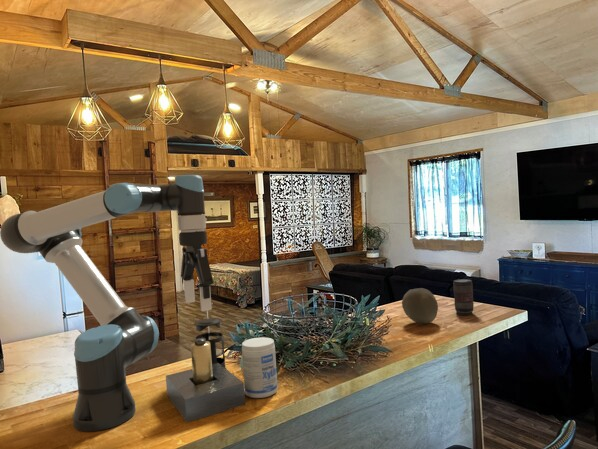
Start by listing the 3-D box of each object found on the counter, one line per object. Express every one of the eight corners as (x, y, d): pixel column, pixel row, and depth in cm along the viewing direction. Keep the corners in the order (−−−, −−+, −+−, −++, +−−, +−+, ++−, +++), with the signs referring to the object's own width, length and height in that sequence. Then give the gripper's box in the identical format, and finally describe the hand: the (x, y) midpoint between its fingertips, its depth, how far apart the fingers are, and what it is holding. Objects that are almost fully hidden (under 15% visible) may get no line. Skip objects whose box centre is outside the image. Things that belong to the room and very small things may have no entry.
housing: (186, 422, 109) (185, 399, 109) (167, 395, 127) (165, 375, 126) (245, 404, 117) (243, 382, 117) (219, 381, 135) (217, 362, 134)
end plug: (198, 406, 118) (193, 344, 118) (192, 399, 123) (187, 339, 122) (217, 400, 121) (212, 340, 120) (210, 394, 126) (206, 335, 125)
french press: (230, 373, 140) (224, 303, 140) (201, 380, 136) (195, 308, 136) (220, 363, 151) (215, 297, 150) (193, 369, 147) (188, 302, 146)
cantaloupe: (425, 317, 191) (423, 284, 190) (445, 325, 178) (443, 289, 177) (397, 322, 187) (395, 287, 186) (416, 330, 173) (414, 293, 173)
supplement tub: (270, 400, 119) (266, 348, 118) (239, 398, 122) (235, 346, 121) (282, 386, 128) (279, 337, 127) (253, 384, 131) (249, 336, 130)
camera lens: (475, 312, 194) (474, 279, 194) (472, 316, 188) (470, 282, 187) (457, 310, 199) (455, 278, 198) (452, 315, 192) (451, 281, 191)
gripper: (222, 230, 112) (227, 311, 113) (191, 229, 133) (196, 297, 134) (194, 232, 108) (199, 316, 109) (166, 231, 129) (172, 301, 130)
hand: (197, 306), depth 122 cm, fingers open, 13 cm apart
